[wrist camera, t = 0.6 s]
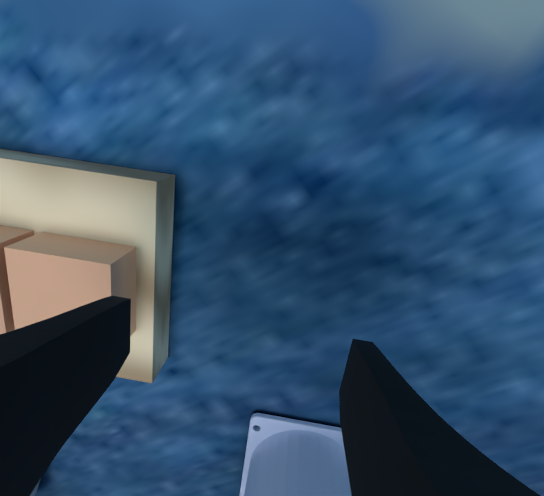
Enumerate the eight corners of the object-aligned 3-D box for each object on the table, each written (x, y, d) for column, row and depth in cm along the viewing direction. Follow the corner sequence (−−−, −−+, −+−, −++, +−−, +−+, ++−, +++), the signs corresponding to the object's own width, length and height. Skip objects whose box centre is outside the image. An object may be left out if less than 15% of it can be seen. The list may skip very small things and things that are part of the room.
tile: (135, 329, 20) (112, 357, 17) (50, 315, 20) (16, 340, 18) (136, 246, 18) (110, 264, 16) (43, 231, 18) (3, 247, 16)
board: (168, 357, 23) (152, 383, 21) (-5, 326, 24) (-39, 348, 21) (175, 174, 19) (156, 181, 17) (-34, 143, 20) (-80, 145, 17)
